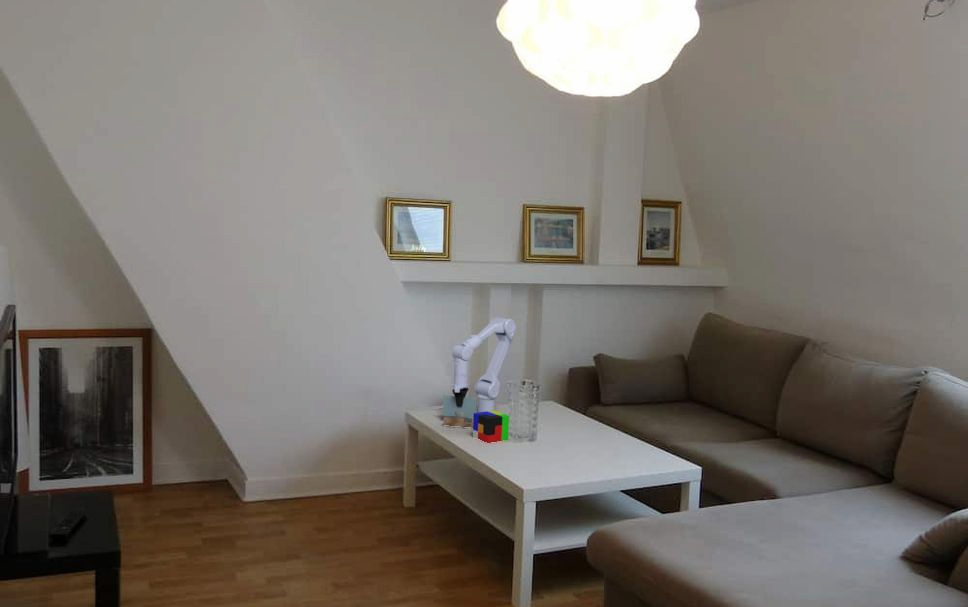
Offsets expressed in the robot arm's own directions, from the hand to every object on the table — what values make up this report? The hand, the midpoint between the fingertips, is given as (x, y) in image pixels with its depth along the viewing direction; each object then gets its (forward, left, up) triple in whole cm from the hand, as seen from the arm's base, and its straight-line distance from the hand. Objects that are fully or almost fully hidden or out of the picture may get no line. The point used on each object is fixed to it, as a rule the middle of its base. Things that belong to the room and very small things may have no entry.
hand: (460, 405), depth 383 cm
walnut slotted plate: (+7, +5, -7) cm, 11 cm away
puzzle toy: (+21, +17, -8) cm, 28 cm away
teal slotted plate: (0, 0, -4) cm, 4 cm away
